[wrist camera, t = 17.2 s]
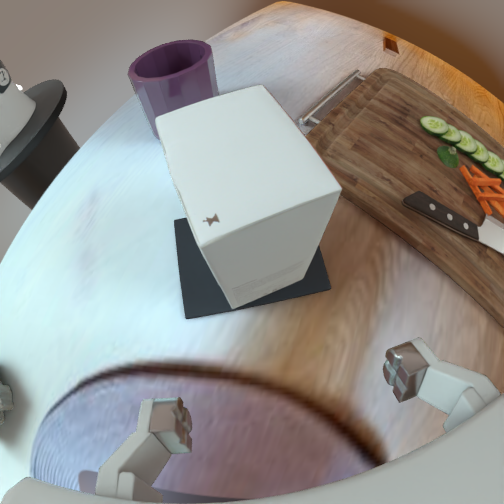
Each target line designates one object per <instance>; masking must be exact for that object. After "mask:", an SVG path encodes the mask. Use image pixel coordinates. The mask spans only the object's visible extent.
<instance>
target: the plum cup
mask: <svg viewBox="0 0 504 504" xmlns="http://www.w3.org/2000/svg"><path fill="white" fill-rule="evenodd" d="M128 76H129V79H130V81H131V84H132V86H133V88H134V91H135V94H136V96H137V98H138V101H139V103H140V106H141V108H142V110H143V113H144V115H145V118H146V120H147V122H148V125H149V127H150V129H151V130H152V133H153V134H154V136H155V137H156V138H157V139H159V140H160V138H159V134H158V131H157V127H156V123H155V119H156V117H158V116H161V115H164V114H166V113H169V112H172V111H174V110H177V109H180V108H183V107H185V106H188V105H191V104H194V103H197V102H200V101H203V100H206V99H209V98H213V97H216V96H219V93H218V87H217V80H216V74H215V67H214V60H213V54H212V49H211V46H210V45H208V44H207V43H205V42H203V41H198V40H179V41H174V42H170V43H165V44H162V45H160V46H157V47H155V48H153V49H150V50H149V51H147V52H145V53H144V54H142V55H141V56H139V57H138V58H137V59H136V60H135V61H134V62H133V63H132V64H131V66H130V67H129V71H128Z"/></svg>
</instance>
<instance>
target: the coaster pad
mask: <svg viewBox="0 0 504 504" xmlns="http://www.w3.org/2000/svg"><path fill="white" fill-rule="evenodd" d="M174 226H175V237H176V247H177V256H178V265H179V274H180V282H181V289H182V297H183V304H184V311H185V318H186V319H191V318H196V317H202V316H208V315H213V314H219V313H224V312H229V311H234V310H239V309H244V308H249V307H254V306H259V305H264V304H269V303H274V302H278V301H283V300H287V299H292V298H296V297H301V296H305V295H309V294H314V293H318V292H322V291H326V290H330V289H331V286H330V282H329V279H328V275H327V272H326V268H325V265H324V261H323V258H322V255H321V251H320V248H319V245H318V247H317V249H316V252H315V254H314V256H313V259H312V261H311V263H310V265H309V267H308V269H307V271H306V273H305V276H304V278H303V279H302V280H300V281H297V282H295V283H293V284H291V285H288V286H286V287H284V288H281V289H279V290H277V291H274V292H272V293H270V294H267V295H265V296H263V297H261V298H258V299H256V300H254V301H251V302H249V303H246V304H244V305H242V306H239V307H237V308H235V309H232V308H231V306H230V304H229V302H228V300H227V298H226V296H225V294H224V292H223V291H222V289H221V287H220V286H219V284H218V282H217V281H216V279H215V277H214V275H213V273H212V271H211V270H210V268H209V266H208V264H207V262H206V260H205V259H204V257H203V255H202V253H201V251H200V249H199V247H198V245H197V243H196V240H195V238H194V235H193V233H192V230H191V228H190V225H189V222H188V220H187V218H182V219H178V220H174Z"/></svg>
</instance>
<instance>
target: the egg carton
mask: <svg viewBox="0 0 504 504" xmlns="http://www.w3.org/2000/svg"><path fill="white" fill-rule="evenodd" d="M13 407H14V405H13V402H12V392H11V390H10V388H9V385H3V384H2V383H1V381H0V425H1V424H3V422H4V420H5V417H4V414H3V410H12V409H13Z"/></svg>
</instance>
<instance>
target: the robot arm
mask: <svg viewBox="0 0 504 504" xmlns="http://www.w3.org/2000/svg"><path fill="white" fill-rule="evenodd" d="M20 89H21V90H22V88H21V86H19V85H16V84H15V83H14V82H13V81H12V80H11V78H10V75H9V73H8V70H7V69H6V68H5V66H4V64H3V63H2V61H1V60H0V156H1V154H2V153H3V151H4V150H5V148H6V147H7V146H8V145H9V144H10V143H11V141H12V140H13V139H14V138H15V137H16V136H17V135H18V134H19V133H20V131H21V130H22V129H23V128H24V126H25V125H26V124H27V122H28V121H29V119H30V118H31V116H32V114H33V112H34V110H35V107H36V102H35V101H34V100H32V99H31V98H29V97H28V96H27V95H26V94H24V93H23V92H22V91H21V90H20ZM386 358H387V360H386V362H385V363H384V366H383V373H384V377H385V379H386V381H387V383H388V384H389V385H391V386H394V388H393V393H394V395H395V396H396V398H397V400H398V401H399V403H401V402H403V401H406V400H408V399H410V398H413V397H415V396H417V397H418V398H420V399H422V400H423V401H425V402H427V403H428V404H430V405H432V406H434V407H436V408H437V409H439V410H441V411H443V412H444V413H446V414H448V415H449V416H448V418H447V419H446V421H445V422H444V424H443V428H444V429H445V431H446V433H445V434H444V435H442V436H440V437H438V438H437V439H435V440H433V441H431V442H429V443H427V444H426V445H424V446H422V447H420V448H418V449H416V450H414V451H412V452H410V453H408V454H406V455H403V456H401V457H399V458H397V459H395V460H392V461H390V462H388V463H385V464H383V465H381V466H378V467H376V468H373V469H370V470H368V471H365V472H362V473H360V474H357V475H354V476H351V477H348V478H345V479H342V480H339V481H336V482H332V483H329V484H325V485H322V486H318V487H314V488H310V489H306V490H302V491H297V492H293V493H288V494H283V495H277V496H272V497H266V498H259V499H251V500H243V501H234V502H222V503H198V504H504V393H503V394H502V395H501V393H500V392H499V391H498V390H497V388H496V387H495V386H494V385H493V383H492V382H491V381H490V380H489V379H488V377H487V376H486V375H483V374H480V373H477V372H474V371H472V370H469V369H466V368H463V367H461V366H458V365H455V364H452V363H450V362H447V361H444V360H442V361H440V360H439V359H438V358H437V356H436V355H435V354H434V353H433V352H432V350H431V349H430V348H429V347H428V346H427V345H426V343H425V342H424V341H423V340H422V339H421V338H419V337H418V338H416V339H413V340H411V341H408V342H405V343H403V344H400V345H398V346H395V347H393V348H390V349H388V350H387V351H386ZM191 430H192V421H191V416H190V413H189V411H188V409H187V408H185V407H183V401H182V399H181V398H180V397H178V398H161V399H143V401H142V402H141V406H140V411H139V417H138V422H137V428H136V432H134V433H132V434H131V435H130V436H129V437H128V438H127V439H126V440H125V441H124V442H123V443H122V445H121V446H120V447H119V448H118V449H117V450H116V451H115V452H114V453H113V454H112V455H111V456H110V457H109V458H108V459H107V461H106V462H105V463H104V464H103V465H102V466H101V467H100V468H99V473H98V478H97V483H96V489H95V495H94V494H89V493H84V492H80V491H76V490H72V489H68V488H64V487H60V486H57V485H53V484H50V483H47V482H44V481H41V480H38V479H35V478H32V477H26V478H24V479H22V480H21V481H19V482H18V483H17V484H15V485H14V486H13V487H12V488H11V489H9V490H8V491H7V492H6V493H5V495H4V497H3V499H2V501H1V504H177V503H162V494H161V493H160V492H158V491H157V490H155V489H154V488H152V487H151V486H152V484H153V483H154V481H155V480H156V478H157V477H158V475H159V474H160V472H161V471H162V469H163V468H164V466H165V465H166V463H167V462H168V460H169V459H170V457H171V454H179V453H192V438H191V437H190V436H189V433H190V432H191Z"/></svg>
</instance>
